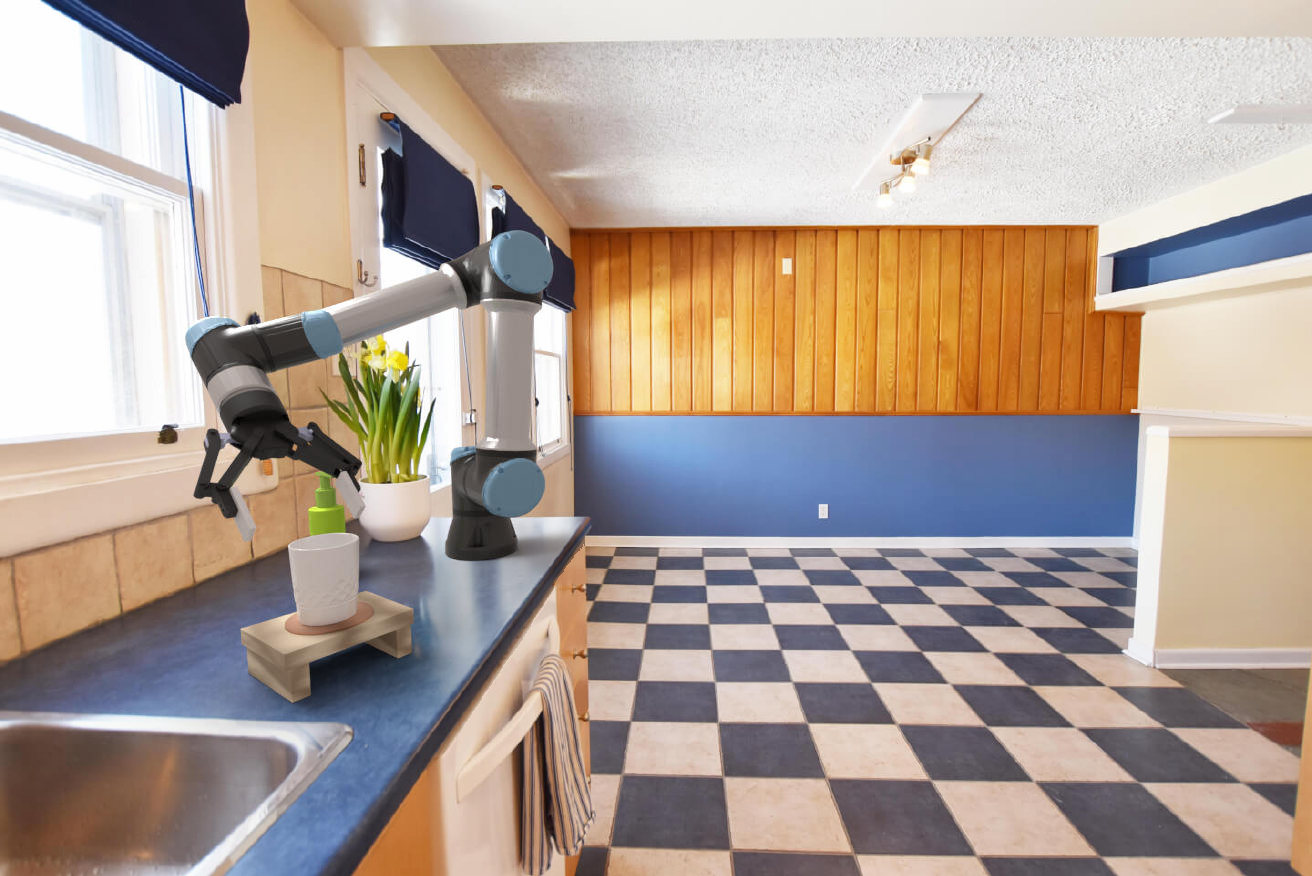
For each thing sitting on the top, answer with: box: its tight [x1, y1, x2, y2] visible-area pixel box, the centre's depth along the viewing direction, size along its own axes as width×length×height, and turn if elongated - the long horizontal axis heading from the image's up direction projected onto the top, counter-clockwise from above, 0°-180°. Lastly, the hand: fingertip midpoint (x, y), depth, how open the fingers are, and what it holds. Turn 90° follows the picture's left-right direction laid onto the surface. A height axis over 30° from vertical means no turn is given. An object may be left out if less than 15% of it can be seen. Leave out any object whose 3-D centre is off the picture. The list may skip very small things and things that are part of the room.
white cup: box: [287, 532, 360, 626], centre depth 75 cm, size 8×8×10 cm
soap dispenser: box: [307, 471, 347, 536], centre depth 109 cm, size 6×7×20 cm
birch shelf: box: [240, 590, 415, 704], centre depth 76 cm, size 16×12×6 cm
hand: (309, 523), depth 76 cm, fingers open, 13 cm apart
